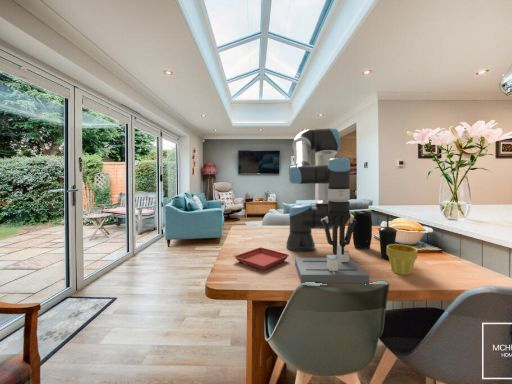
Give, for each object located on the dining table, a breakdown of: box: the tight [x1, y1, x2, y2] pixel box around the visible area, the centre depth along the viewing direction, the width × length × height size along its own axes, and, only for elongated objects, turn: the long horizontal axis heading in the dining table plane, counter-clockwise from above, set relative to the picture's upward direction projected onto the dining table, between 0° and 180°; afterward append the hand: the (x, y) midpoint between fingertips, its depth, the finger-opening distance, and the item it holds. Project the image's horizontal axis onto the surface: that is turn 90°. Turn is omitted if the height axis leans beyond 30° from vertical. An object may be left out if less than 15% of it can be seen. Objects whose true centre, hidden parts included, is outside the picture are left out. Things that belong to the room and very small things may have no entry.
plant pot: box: [387, 243, 419, 276], centre depth 93 cm, size 10×10×10 cm
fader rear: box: [341, 247, 350, 262], centre depth 96 cm, size 3×4×4 cm
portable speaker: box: [352, 210, 373, 250], centre depth 125 cm, size 9×9×20 cm
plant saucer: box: [234, 247, 290, 271], centre depth 106 cm, size 18×18×3 cm
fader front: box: [326, 254, 338, 271], centre depth 88 cm, size 3×4×4 cm
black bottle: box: [378, 215, 398, 261], centre depth 108 cm, size 8×8×20 cm
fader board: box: [294, 257, 370, 284], centre depth 93 cm, size 24×18×3 cm
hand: (338, 262), depth 88 cm, fingers closed
